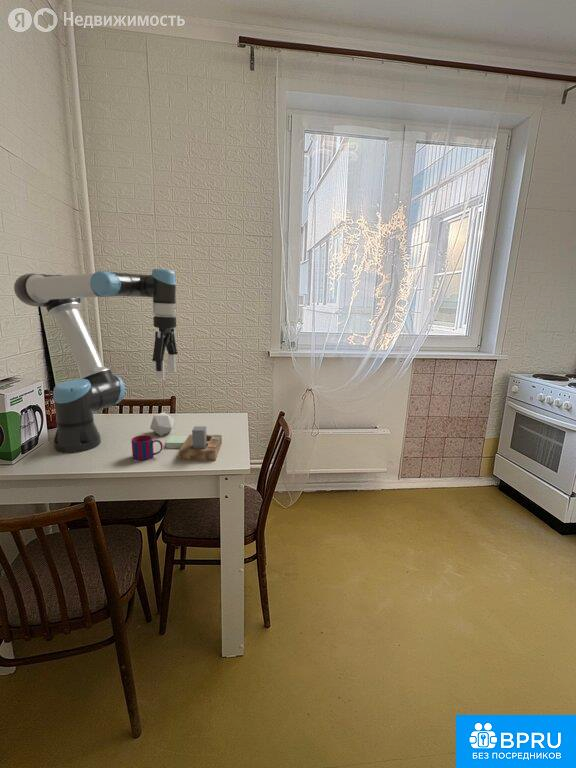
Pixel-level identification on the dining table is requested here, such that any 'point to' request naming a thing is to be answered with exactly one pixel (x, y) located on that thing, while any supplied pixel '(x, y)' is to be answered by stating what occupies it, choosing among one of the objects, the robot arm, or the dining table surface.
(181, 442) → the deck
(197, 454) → the socket block
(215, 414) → the dining table surface
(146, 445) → the mug
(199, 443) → the plug
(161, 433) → the die
